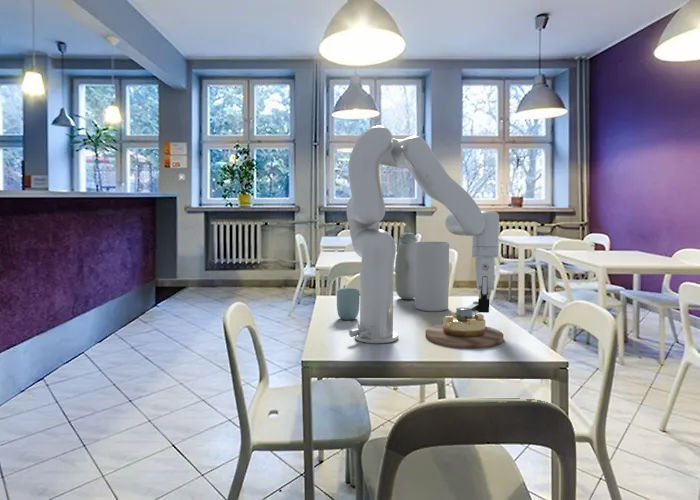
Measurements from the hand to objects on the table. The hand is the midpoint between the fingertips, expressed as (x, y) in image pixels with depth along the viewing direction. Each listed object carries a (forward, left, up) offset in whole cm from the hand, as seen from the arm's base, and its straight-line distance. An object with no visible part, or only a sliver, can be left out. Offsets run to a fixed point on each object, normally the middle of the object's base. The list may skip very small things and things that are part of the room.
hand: (483, 311), depth 144 cm
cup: (-16, +42, -6) cm, 45 cm away
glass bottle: (+27, +49, -6) cm, 56 cm away
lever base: (-10, +1, -6) cm, 12 cm away
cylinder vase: (+18, +31, -6) cm, 36 cm away
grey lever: (-7, +1, -4) cm, 8 cm away
